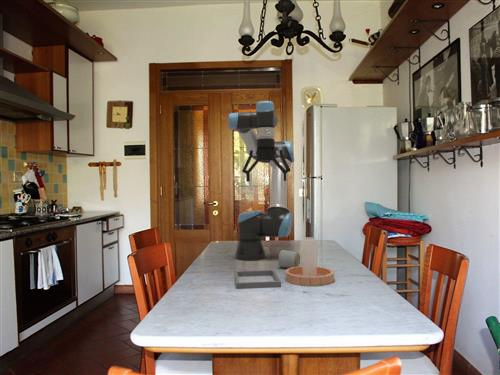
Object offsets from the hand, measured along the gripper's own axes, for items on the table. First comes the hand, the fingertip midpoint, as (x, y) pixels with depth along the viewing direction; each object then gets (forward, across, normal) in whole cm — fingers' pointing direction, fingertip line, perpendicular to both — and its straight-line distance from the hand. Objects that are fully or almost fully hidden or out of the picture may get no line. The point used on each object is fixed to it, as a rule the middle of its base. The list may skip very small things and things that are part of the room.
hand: (266, 189), depth 157 cm
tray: (+35, -6, -15) cm, 38 cm away
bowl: (+35, +14, -15) cm, 40 cm away
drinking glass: (+34, +14, -15) cm, 40 cm away
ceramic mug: (+35, +10, +6) cm, 37 cm away
